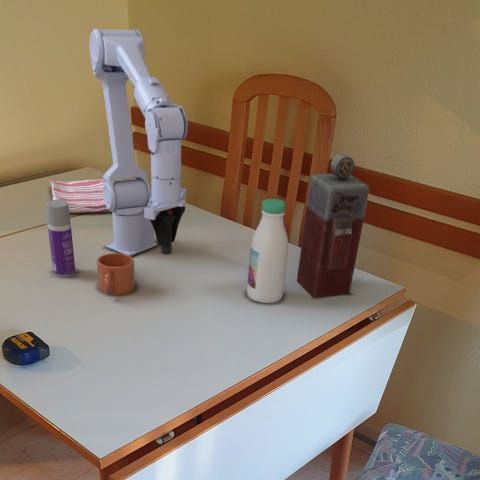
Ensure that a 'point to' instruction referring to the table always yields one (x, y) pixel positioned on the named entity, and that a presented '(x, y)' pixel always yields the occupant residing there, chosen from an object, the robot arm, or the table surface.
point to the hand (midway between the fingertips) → (166, 243)
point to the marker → (169, 249)
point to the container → (60, 238)
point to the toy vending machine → (332, 230)
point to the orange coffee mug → (116, 273)
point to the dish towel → (80, 195)
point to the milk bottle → (268, 254)
